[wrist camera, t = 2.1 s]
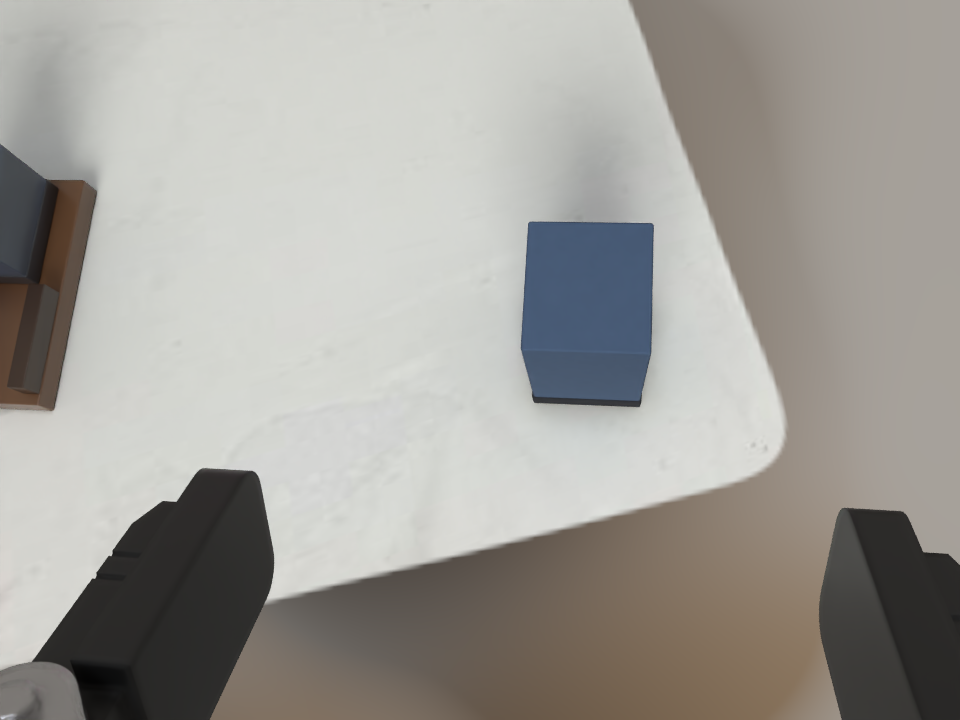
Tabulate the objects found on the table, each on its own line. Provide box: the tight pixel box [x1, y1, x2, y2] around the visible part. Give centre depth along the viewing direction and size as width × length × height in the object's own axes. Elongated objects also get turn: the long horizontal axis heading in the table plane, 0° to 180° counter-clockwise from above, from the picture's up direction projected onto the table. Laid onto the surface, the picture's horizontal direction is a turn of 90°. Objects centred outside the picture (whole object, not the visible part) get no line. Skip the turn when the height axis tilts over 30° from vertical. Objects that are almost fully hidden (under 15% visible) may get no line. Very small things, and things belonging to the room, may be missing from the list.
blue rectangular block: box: [521, 222, 654, 407], centre depth 35 cm, size 4×5×8 cm
